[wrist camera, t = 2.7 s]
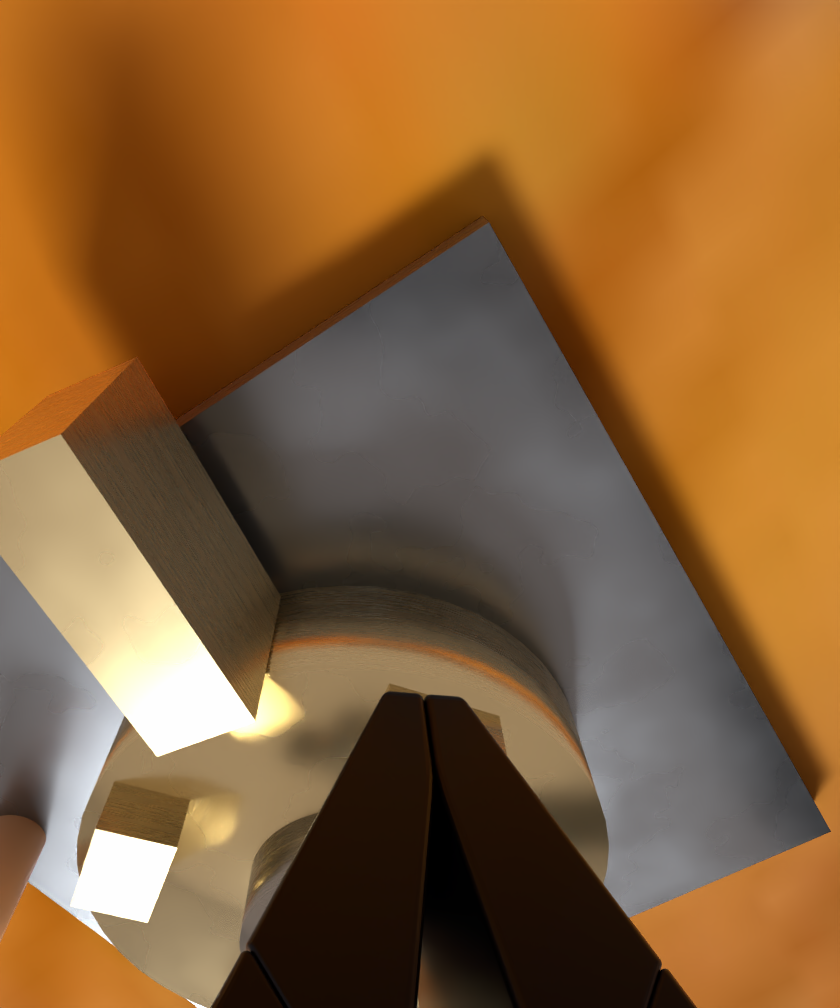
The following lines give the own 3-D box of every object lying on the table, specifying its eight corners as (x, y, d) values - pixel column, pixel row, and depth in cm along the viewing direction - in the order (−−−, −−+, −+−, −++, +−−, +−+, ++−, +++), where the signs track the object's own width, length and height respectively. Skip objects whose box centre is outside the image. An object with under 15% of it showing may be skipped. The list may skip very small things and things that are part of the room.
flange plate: (482, 216, 16) (489, 222, 15) (813, 804, 24) (830, 831, 23) (-198, 668, 20) (-225, 694, 19) (281, 1036, 28) (278, 1067, 27)
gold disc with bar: (630, 852, 22) (687, 1019, 18) (255, 968, 24) (229, 1146, 20) (376, 248, 14) (375, 303, 10) (-155, 482, 16) (-339, 609, 12)
